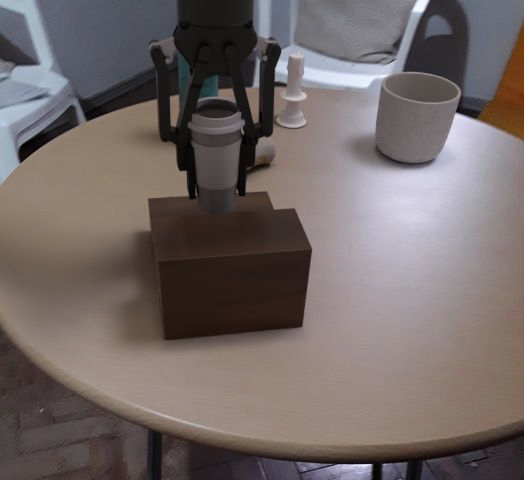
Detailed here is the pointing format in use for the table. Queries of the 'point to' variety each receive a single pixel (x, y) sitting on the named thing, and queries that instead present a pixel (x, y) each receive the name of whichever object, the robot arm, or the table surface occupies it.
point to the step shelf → (228, 266)
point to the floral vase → (264, 151)
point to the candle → (293, 93)
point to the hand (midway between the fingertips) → (216, 191)
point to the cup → (216, 152)
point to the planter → (415, 115)
